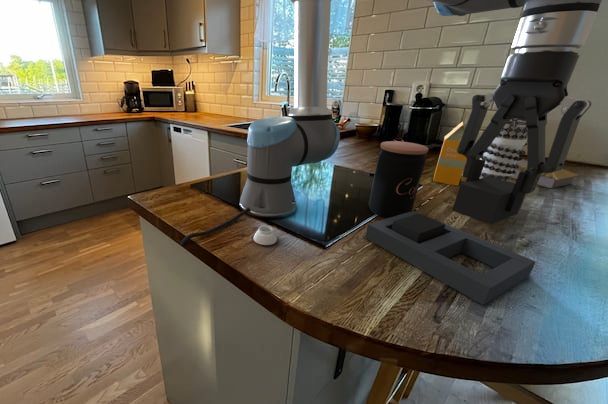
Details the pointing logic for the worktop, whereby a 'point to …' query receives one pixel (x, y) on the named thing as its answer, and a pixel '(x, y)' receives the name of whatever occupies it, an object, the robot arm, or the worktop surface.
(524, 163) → the rafter model
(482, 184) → the pad
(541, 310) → the worktop surface
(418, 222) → the pad
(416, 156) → the coffee jar
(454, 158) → the orange juice
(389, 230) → the base pad
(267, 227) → the white upturned bowl
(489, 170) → the decorative candle
